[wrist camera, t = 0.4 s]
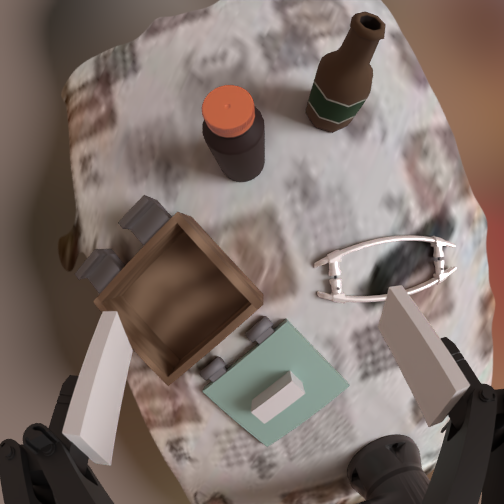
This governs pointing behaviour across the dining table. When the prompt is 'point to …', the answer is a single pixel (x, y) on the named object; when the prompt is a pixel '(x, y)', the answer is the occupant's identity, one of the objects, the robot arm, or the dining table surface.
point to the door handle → (336, 255)
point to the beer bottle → (345, 75)
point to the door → (273, 382)
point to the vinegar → (234, 132)
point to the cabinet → (171, 289)
